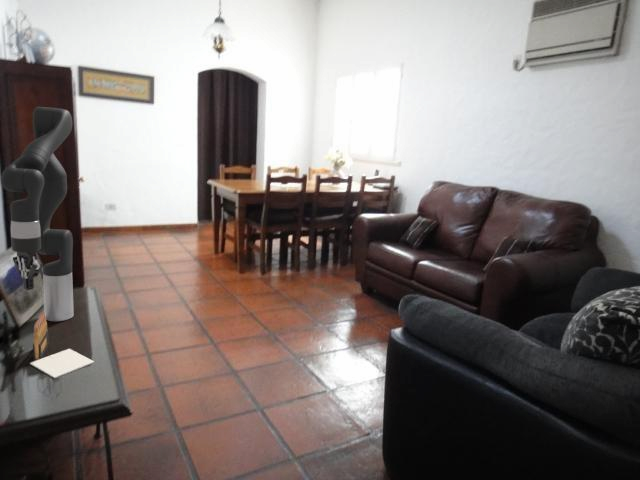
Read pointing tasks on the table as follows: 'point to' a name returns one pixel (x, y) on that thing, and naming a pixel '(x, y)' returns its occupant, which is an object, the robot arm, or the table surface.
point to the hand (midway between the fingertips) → (28, 288)
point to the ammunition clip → (40, 337)
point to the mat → (62, 363)
